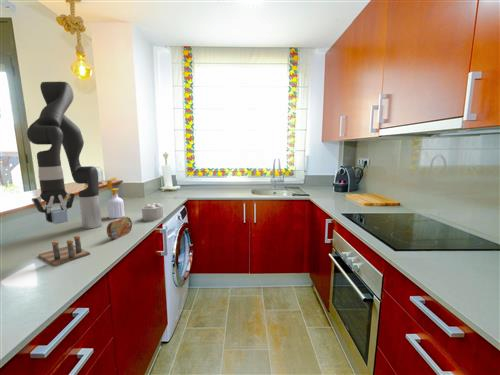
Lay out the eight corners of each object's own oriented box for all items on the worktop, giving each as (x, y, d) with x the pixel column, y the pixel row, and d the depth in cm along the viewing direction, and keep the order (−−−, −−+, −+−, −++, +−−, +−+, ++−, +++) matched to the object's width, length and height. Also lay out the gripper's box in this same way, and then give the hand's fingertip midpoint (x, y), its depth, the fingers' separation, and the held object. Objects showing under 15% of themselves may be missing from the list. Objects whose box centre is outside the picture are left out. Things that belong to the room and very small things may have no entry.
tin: (112, 241, 116) (110, 223, 115) (106, 240, 117) (104, 223, 116) (133, 230, 131) (131, 215, 129) (127, 230, 131) (126, 214, 130)
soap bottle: (127, 216, 160) (124, 177, 156) (113, 219, 152) (109, 179, 148) (119, 214, 165) (116, 177, 161) (105, 217, 157) (101, 178, 153)
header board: (38, 256, 101) (36, 238, 99) (72, 246, 110) (70, 229, 109) (54, 265, 92) (51, 246, 91) (90, 254, 102) (87, 236, 100)
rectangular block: (55, 224, 96) (54, 212, 96) (46, 220, 101) (45, 210, 101) (67, 221, 100) (66, 210, 99) (58, 218, 105) (57, 208, 104)
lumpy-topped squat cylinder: (140, 220, 151) (139, 205, 150) (153, 214, 164) (152, 201, 162) (155, 220, 149) (154, 206, 147) (167, 215, 161) (166, 202, 160)
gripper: (31, 180, 90) (38, 226, 92) (76, 176, 102) (81, 217, 104) (24, 179, 94) (31, 223, 97) (68, 175, 106) (73, 215, 108)
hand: (57, 220), depth 100 cm, fingers closed on rectangular block, 4 cm apart
